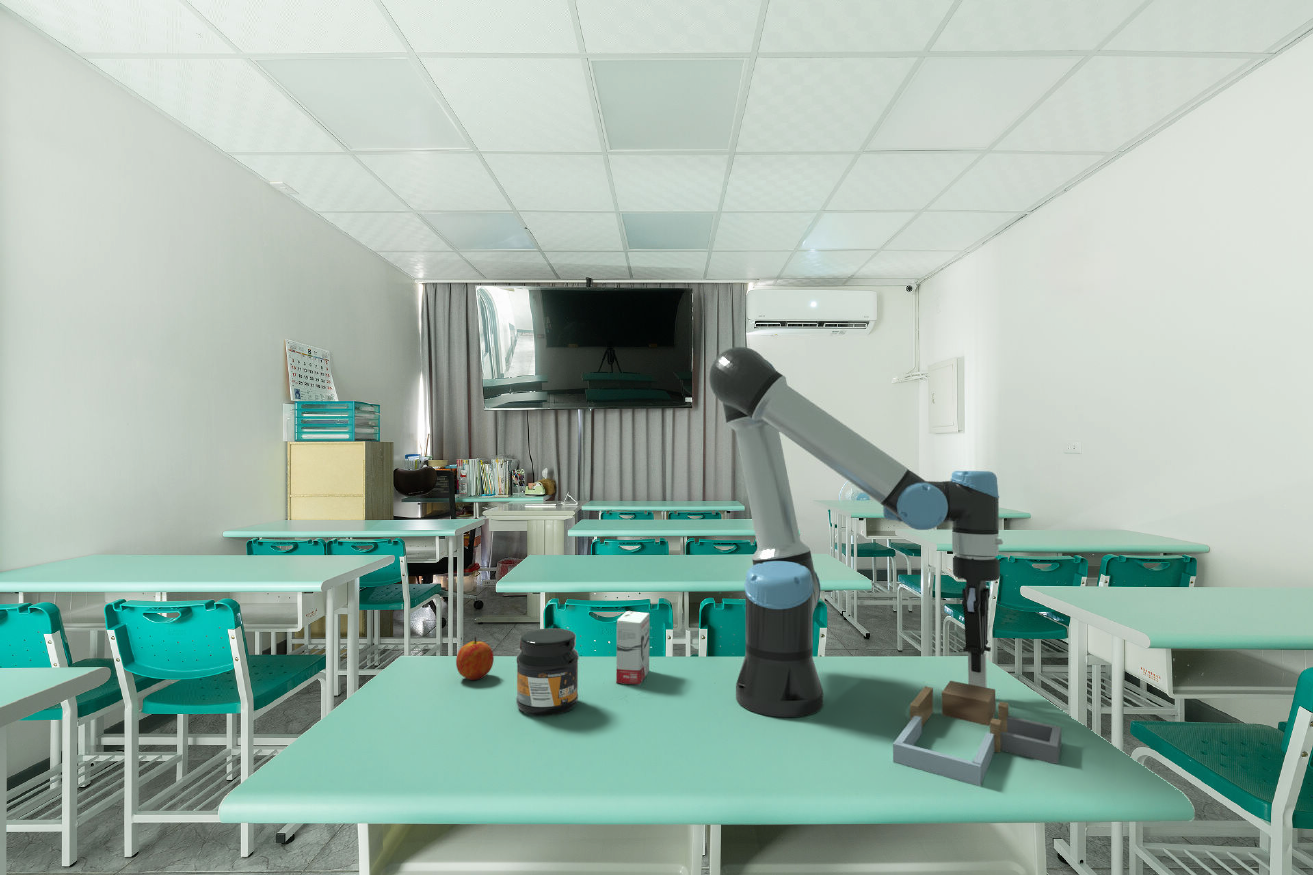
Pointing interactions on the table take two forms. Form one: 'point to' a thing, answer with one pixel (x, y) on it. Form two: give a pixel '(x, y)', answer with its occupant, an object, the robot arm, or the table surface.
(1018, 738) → the trap pit
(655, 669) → the table surface
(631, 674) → the ink box
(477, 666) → the fruit
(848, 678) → the table surface
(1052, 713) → the table surface
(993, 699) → the block
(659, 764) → the table surface
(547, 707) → the supplement container
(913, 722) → the dock
